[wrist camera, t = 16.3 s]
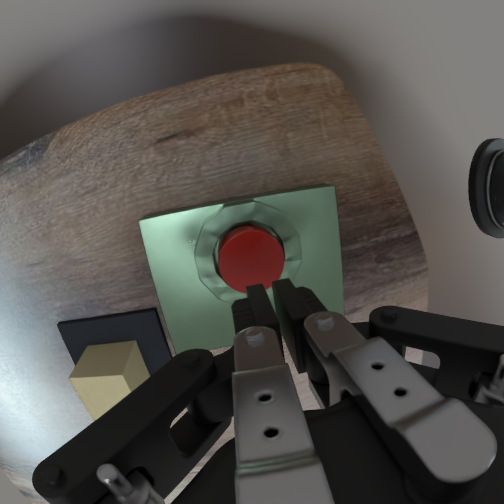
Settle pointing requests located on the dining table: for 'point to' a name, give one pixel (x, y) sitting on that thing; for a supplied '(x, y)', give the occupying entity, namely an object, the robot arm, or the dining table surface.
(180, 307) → the switch base
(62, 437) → the dining table surface
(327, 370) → the robot arm
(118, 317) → the mat
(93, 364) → the block
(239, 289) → the switch
